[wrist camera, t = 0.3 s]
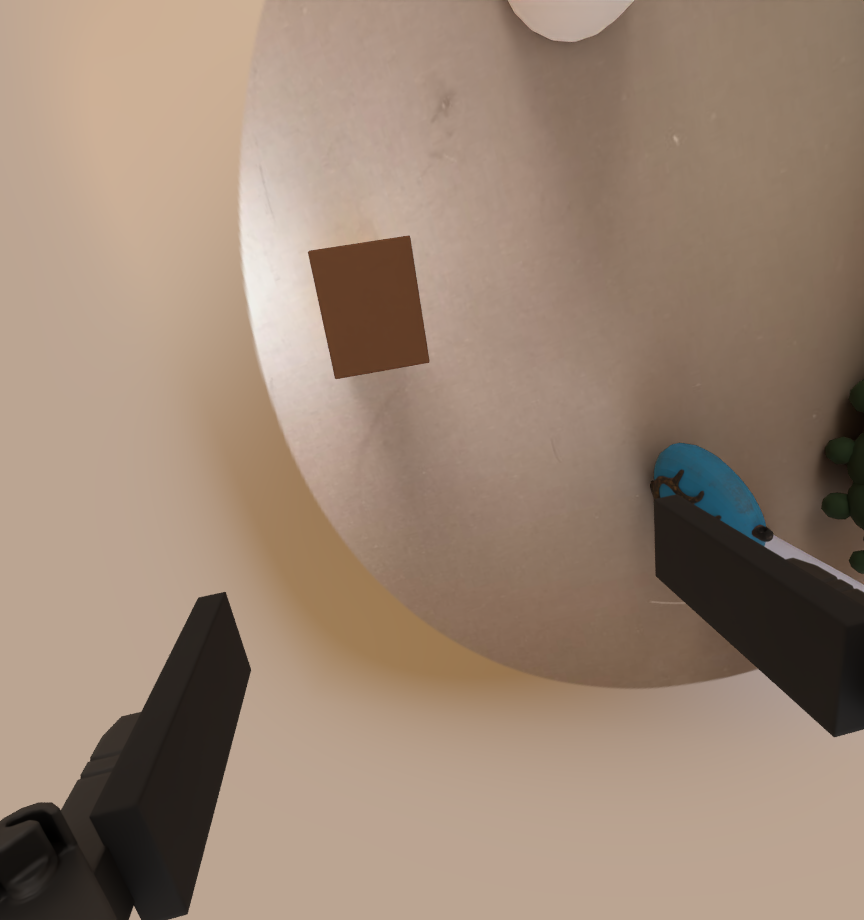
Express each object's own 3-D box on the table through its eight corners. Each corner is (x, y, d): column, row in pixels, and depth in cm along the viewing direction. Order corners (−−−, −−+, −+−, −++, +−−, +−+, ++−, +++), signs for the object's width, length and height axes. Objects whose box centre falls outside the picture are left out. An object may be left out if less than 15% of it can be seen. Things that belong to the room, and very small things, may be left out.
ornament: (621, 449, 38) (713, 499, 28) (678, 419, 38) (788, 459, 28) (656, 539, 41) (750, 611, 31) (709, 511, 41) (818, 575, 31)
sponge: (339, 352, 33) (335, 379, 22) (322, 268, 31) (307, 250, 20) (401, 341, 33) (429, 362, 22) (387, 258, 32) (410, 235, 20)
